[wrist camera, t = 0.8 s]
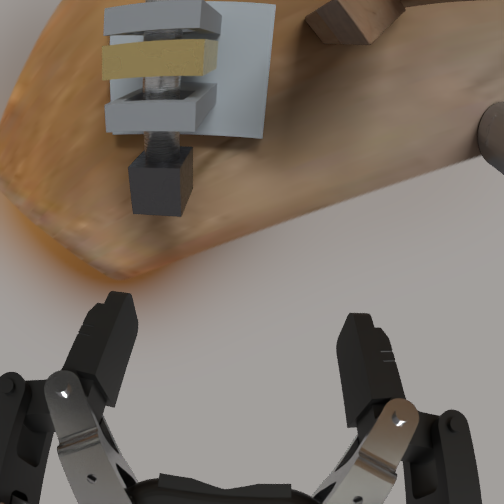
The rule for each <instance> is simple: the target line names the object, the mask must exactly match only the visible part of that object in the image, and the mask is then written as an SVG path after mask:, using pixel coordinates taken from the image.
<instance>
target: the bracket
mask: <svg viewBox="0 0 504 504" xmlns="http://www.w3.org/2000/svg"><path fill="white" fill-rule="evenodd" d="M275 8H276V5H273V4H262V3H248V2H220V1H204V0H168V1H156V2H146V3H138V4H130V5H123V6H117V7H111V8H106V9H105V14H104V36H110V45H116V44H124V43H133V42H143V41H144V31H156V30H172V29H183V36H182V39H208V40H215V41H218V53H217V68H216V69H215V70H213V71H211V72H209V73H207V74H205V75H203V76H181V82H180V100H143V77H136V78H123V79H112V80H110V95H111V102H110V103H108V104H106V105H105V121H106V132H113V135H115V134H144V131H180V134H194V135H217V136H234V137H248V138H260V139H262V137H263V127H264V117H265V107H266V97H267V87H268V78H269V68H270V58H271V48H272V38H273V28H274V18H275Z"/></svg>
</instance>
